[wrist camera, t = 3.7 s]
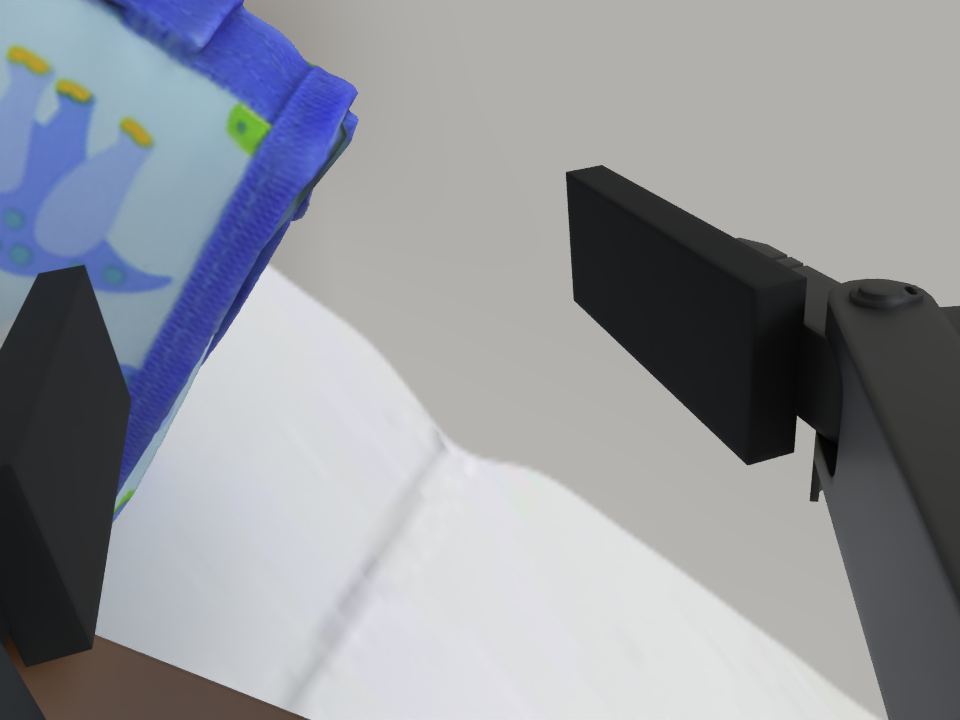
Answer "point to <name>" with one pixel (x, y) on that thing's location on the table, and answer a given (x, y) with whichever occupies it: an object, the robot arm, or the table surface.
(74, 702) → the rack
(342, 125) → the lunch bag
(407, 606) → the table surface
